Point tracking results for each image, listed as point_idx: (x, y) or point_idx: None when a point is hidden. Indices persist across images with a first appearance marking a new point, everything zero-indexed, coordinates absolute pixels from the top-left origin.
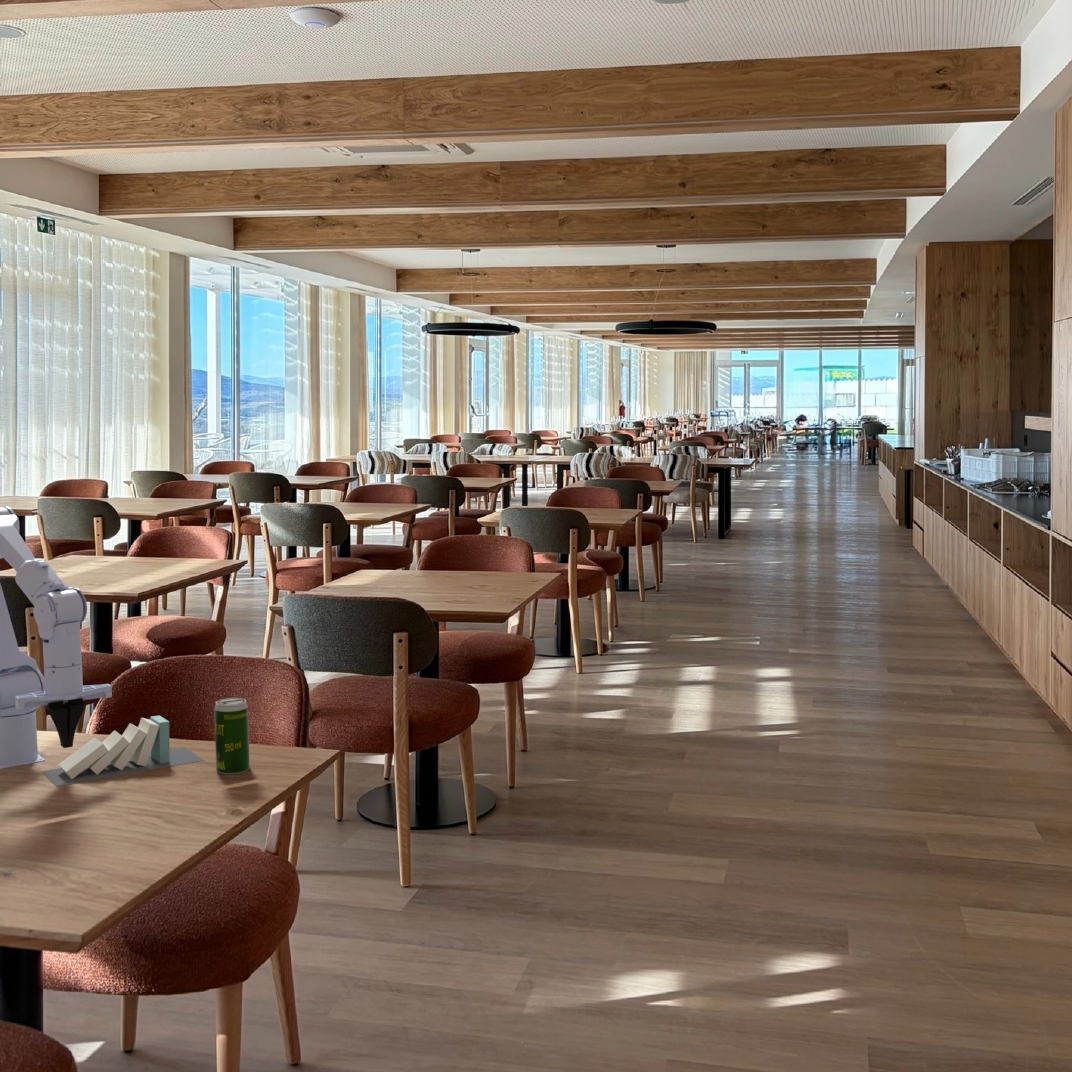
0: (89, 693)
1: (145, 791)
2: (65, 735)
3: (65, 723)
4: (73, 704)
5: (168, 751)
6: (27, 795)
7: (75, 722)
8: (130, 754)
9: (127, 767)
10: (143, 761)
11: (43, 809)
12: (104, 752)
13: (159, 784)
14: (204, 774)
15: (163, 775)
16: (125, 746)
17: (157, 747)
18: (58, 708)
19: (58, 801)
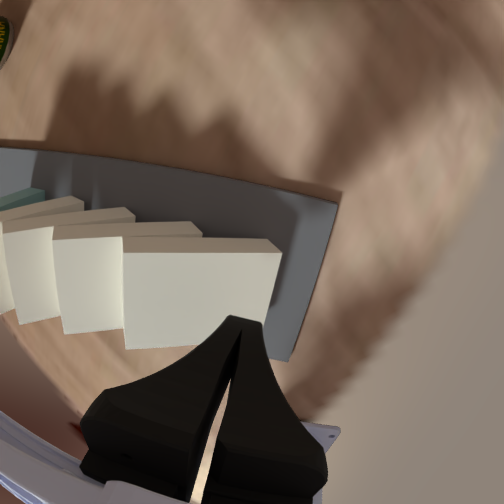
0: (16, 457)
1: (159, 3)
2: (251, 348)
3: (242, 386)
4: (151, 464)
5: (12, 194)
6: (414, 222)
7: (185, 369)
8: (77, 214)
9: None
10: (67, 200)
11: (443, 68)
12: (137, 239)
13: (106, 40)
14: (21, 64)
15: (68, 110)
16: (70, 225)
17: None
18: (269, 479)
19: (387, 93)
